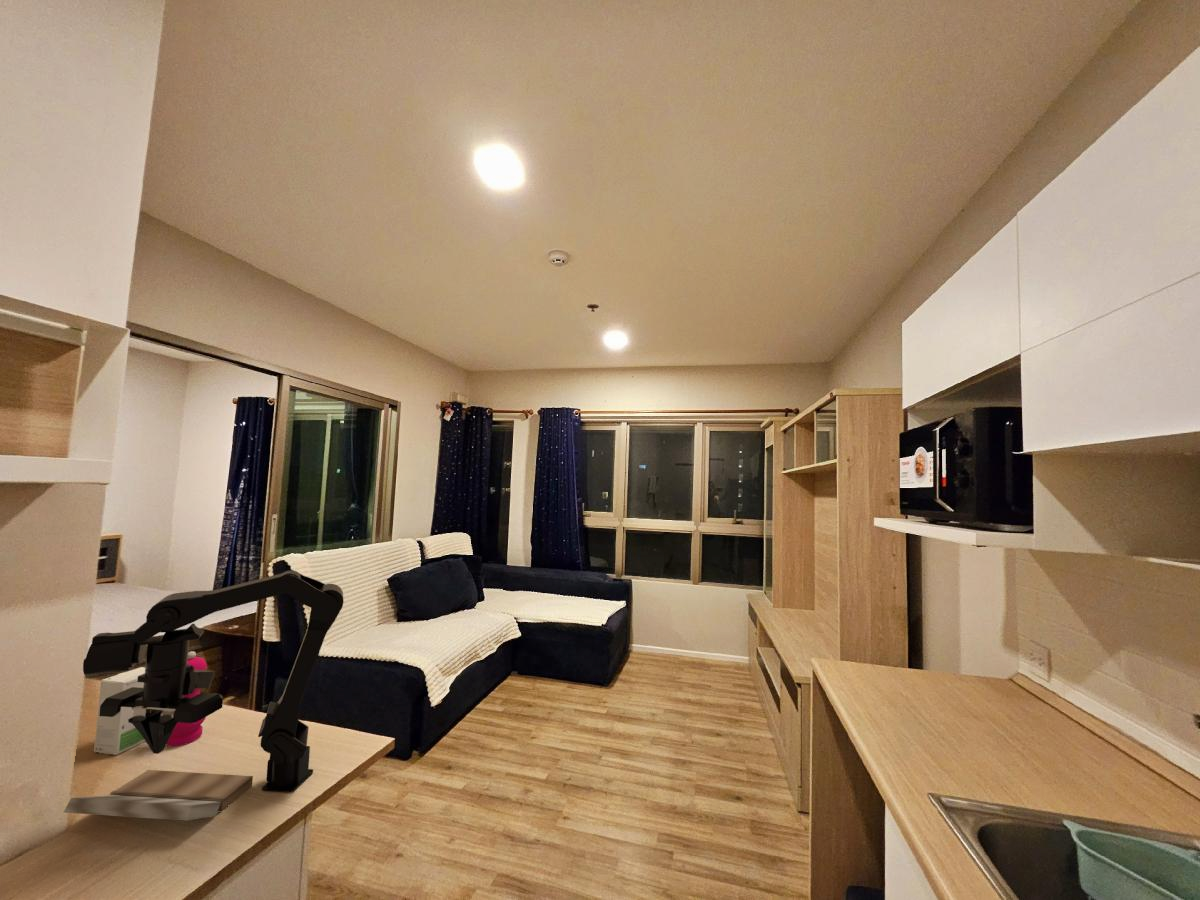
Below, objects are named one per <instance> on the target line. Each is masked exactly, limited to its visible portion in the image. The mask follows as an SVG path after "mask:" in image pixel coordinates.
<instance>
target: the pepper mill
mask: <svg viewBox="0 0 1200 900" xmlns="http://www.w3.org/2000/svg"><path fill="white" fill-rule="evenodd" d="M187 665H193V667H194V670H207V666H208V664H207V662H206V660H205V658H203V657H199V656H197V653H196V651H194V650H193V651H191V650H190V651H188V660H187ZM200 689H201V688H197V689H195V690H194V692H193V693H191V694H189V695H185V696H184V697H188V698H192V697H194V696H196V695H198V694H200V693H201V692H200ZM206 718H207V716H206V717H205V718H203V719H201V720H199V721H198V722H194V723H181V722H178V723H177V725H176V726H175V728H174V730H173V732H172V734H171V736H170V738H169V740H168V742H167V744H166V747H167V746H168V747H180V746H185V745H188V744H190V743H193V742H195V741H197V740H199V739H200V738H201V737H202V735H203V725H202V724H203V723H204V721H205V720H206Z"/></svg>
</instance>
